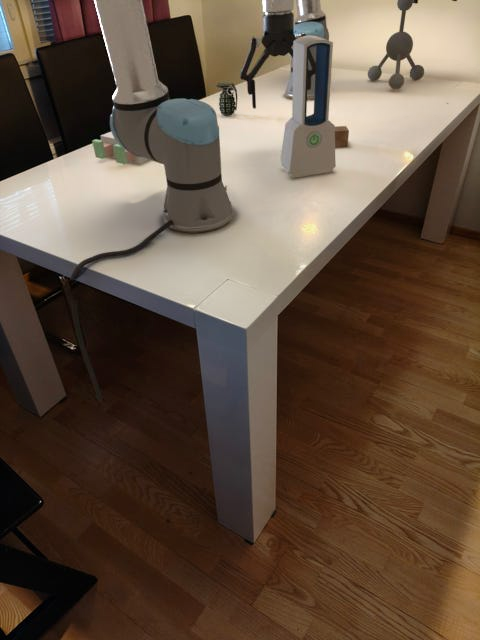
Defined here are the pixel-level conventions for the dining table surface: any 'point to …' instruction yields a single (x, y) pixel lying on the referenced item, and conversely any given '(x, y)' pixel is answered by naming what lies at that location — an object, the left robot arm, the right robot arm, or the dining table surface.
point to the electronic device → (315, 130)
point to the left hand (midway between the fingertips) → (279, 105)
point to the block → (341, 136)
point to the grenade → (227, 99)
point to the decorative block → (114, 150)
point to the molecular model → (398, 53)
